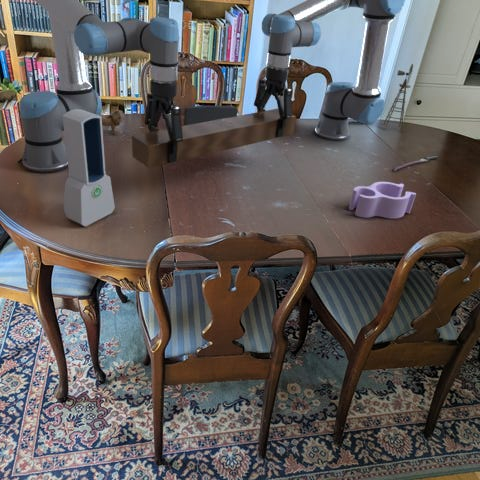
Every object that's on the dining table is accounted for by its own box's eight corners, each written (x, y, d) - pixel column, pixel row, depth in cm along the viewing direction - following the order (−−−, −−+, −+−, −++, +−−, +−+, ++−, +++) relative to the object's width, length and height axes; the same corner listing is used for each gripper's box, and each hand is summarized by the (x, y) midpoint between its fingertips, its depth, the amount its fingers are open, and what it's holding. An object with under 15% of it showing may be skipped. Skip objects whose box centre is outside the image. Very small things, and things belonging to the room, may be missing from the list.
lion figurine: (123, 129, 193) (122, 108, 188) (125, 134, 189) (124, 112, 184) (86, 130, 188) (84, 108, 183) (87, 135, 184) (85, 113, 179)
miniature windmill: (401, 131, 224) (420, 67, 208) (384, 129, 225) (401, 64, 209) (400, 126, 231) (418, 63, 215) (383, 123, 232) (399, 60, 216)
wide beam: (148, 168, 134) (148, 146, 130) (132, 156, 139) (131, 135, 136) (293, 134, 169) (296, 116, 165) (275, 126, 175) (278, 108, 171)
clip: (362, 221, 145) (367, 202, 142) (342, 202, 155) (347, 184, 151) (415, 216, 152) (421, 197, 148) (393, 198, 161) (398, 180, 158)
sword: (433, 155, 200) (434, 153, 199) (439, 158, 198) (440, 155, 197) (387, 170, 184) (387, 168, 183) (393, 173, 182) (394, 171, 181)
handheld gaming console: (234, 127, 207) (236, 105, 202) (236, 129, 205) (238, 107, 200) (183, 128, 200) (184, 105, 195) (185, 131, 198) (185, 107, 192)
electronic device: (82, 228, 128) (71, 122, 112) (63, 219, 131) (50, 114, 115) (115, 211, 137) (109, 111, 121) (97, 203, 140) (89, 104, 124)
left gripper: (198, 89, 124) (194, 166, 137) (154, 68, 137) (154, 140, 150) (174, 92, 120) (172, 172, 132) (131, 70, 133) (133, 144, 145)
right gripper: (309, 74, 150) (298, 140, 163) (263, 58, 163) (256, 120, 176) (293, 76, 146) (283, 144, 158) (247, 60, 159) (241, 124, 171)
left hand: (162, 155), depth 141 cm, fingers closed on wide beam, 9 cm apart
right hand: (269, 131), depth 167 cm, fingers closed on wide beam, 9 cm apart
